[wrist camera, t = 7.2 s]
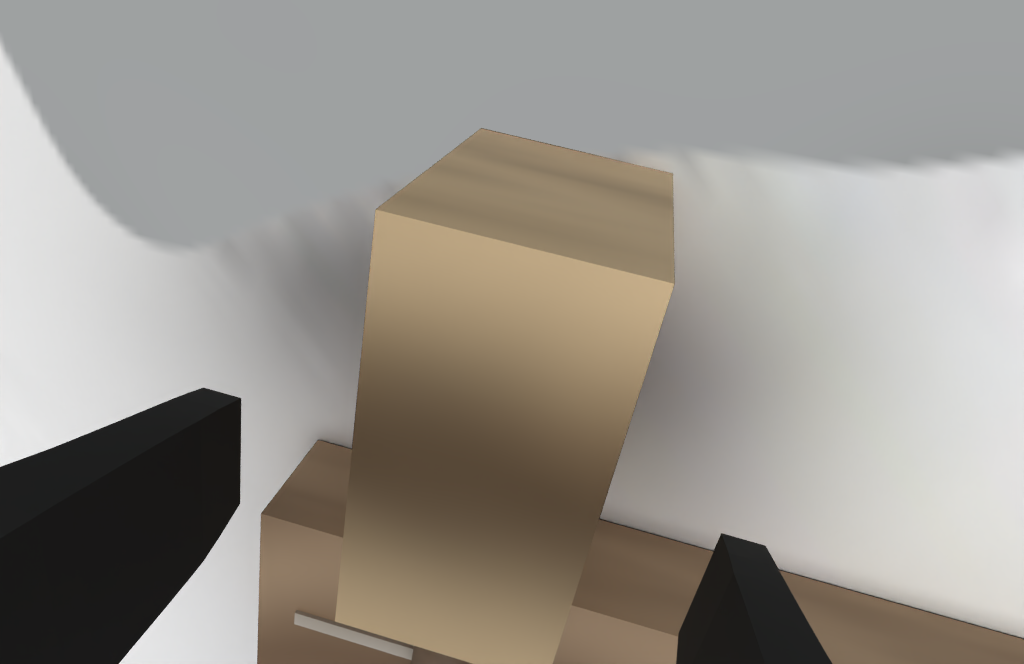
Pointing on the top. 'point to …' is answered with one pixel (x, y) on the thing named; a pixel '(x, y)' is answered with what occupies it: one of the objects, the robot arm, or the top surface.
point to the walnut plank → (597, 602)
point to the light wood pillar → (497, 392)
